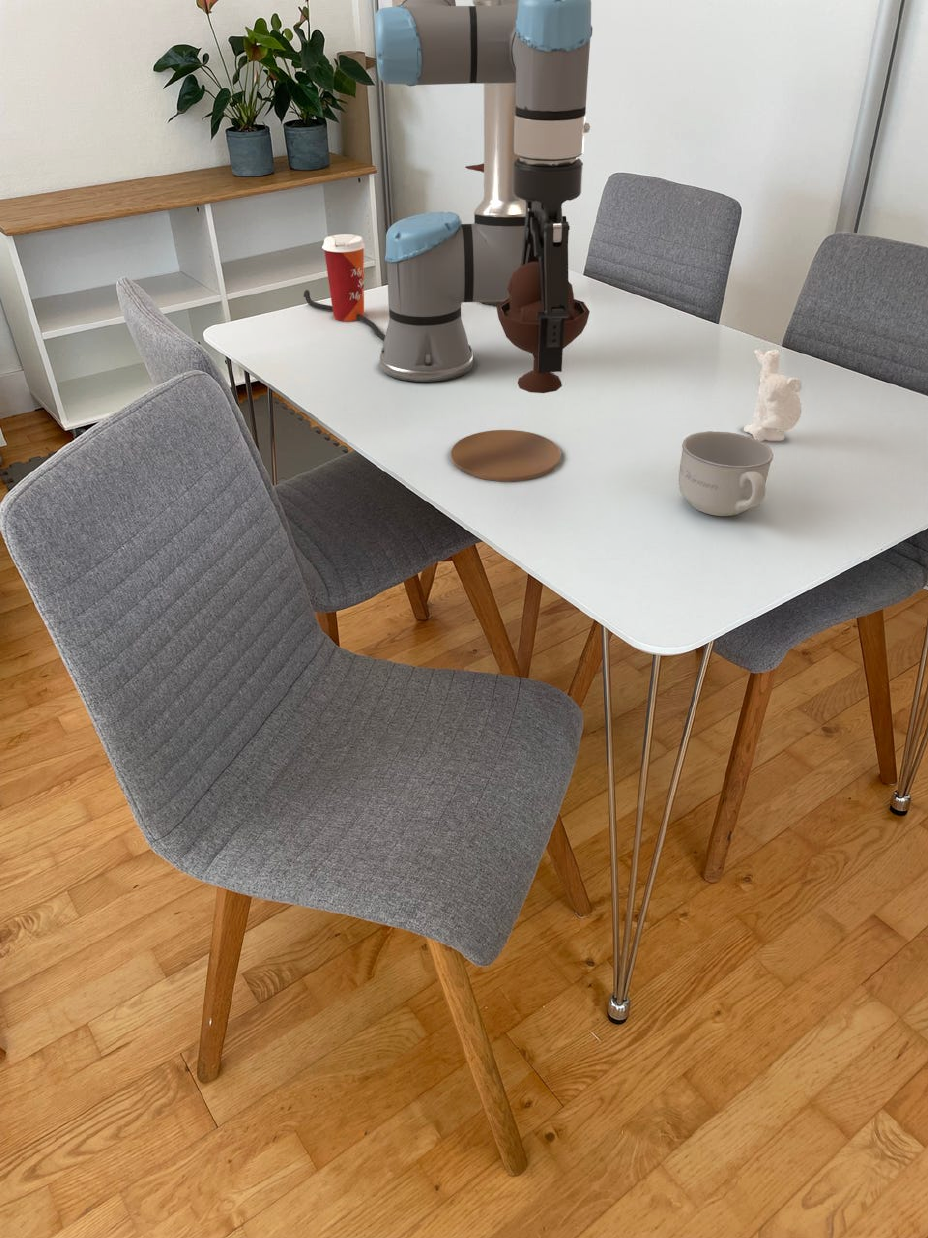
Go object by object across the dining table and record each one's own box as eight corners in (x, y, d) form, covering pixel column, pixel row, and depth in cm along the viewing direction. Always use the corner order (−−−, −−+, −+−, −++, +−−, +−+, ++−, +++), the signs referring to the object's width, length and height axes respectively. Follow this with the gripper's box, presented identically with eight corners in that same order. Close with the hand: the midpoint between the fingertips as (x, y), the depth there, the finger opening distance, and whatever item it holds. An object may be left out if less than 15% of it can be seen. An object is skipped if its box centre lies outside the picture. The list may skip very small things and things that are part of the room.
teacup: (665, 486, 130) (672, 429, 126) (747, 482, 131) (757, 425, 126) (695, 541, 119) (703, 480, 114) (784, 536, 120) (796, 476, 115)
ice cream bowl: (580, 404, 119) (588, 277, 111) (487, 398, 121) (488, 272, 112) (588, 370, 128) (597, 249, 119) (502, 364, 130) (504, 245, 121)
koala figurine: (728, 430, 145) (740, 348, 138) (765, 421, 147) (779, 341, 140) (766, 453, 138) (781, 369, 131) (804, 443, 141) (821, 360, 134)
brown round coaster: (428, 460, 137) (428, 456, 137) (496, 424, 147) (496, 420, 146) (516, 492, 129) (516, 488, 129) (581, 452, 139) (582, 448, 139)
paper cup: (367, 323, 184) (362, 244, 176) (325, 323, 184) (318, 244, 176) (371, 309, 190) (366, 232, 182) (330, 309, 191) (324, 232, 183)
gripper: (606, 181, 100) (591, 389, 113) (562, 135, 119) (554, 317, 132) (531, 184, 99) (525, 392, 112) (499, 137, 118) (497, 320, 131)
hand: (540, 352), depth 122 cm, fingers closed on ice cream bowl, 11 cm apart
